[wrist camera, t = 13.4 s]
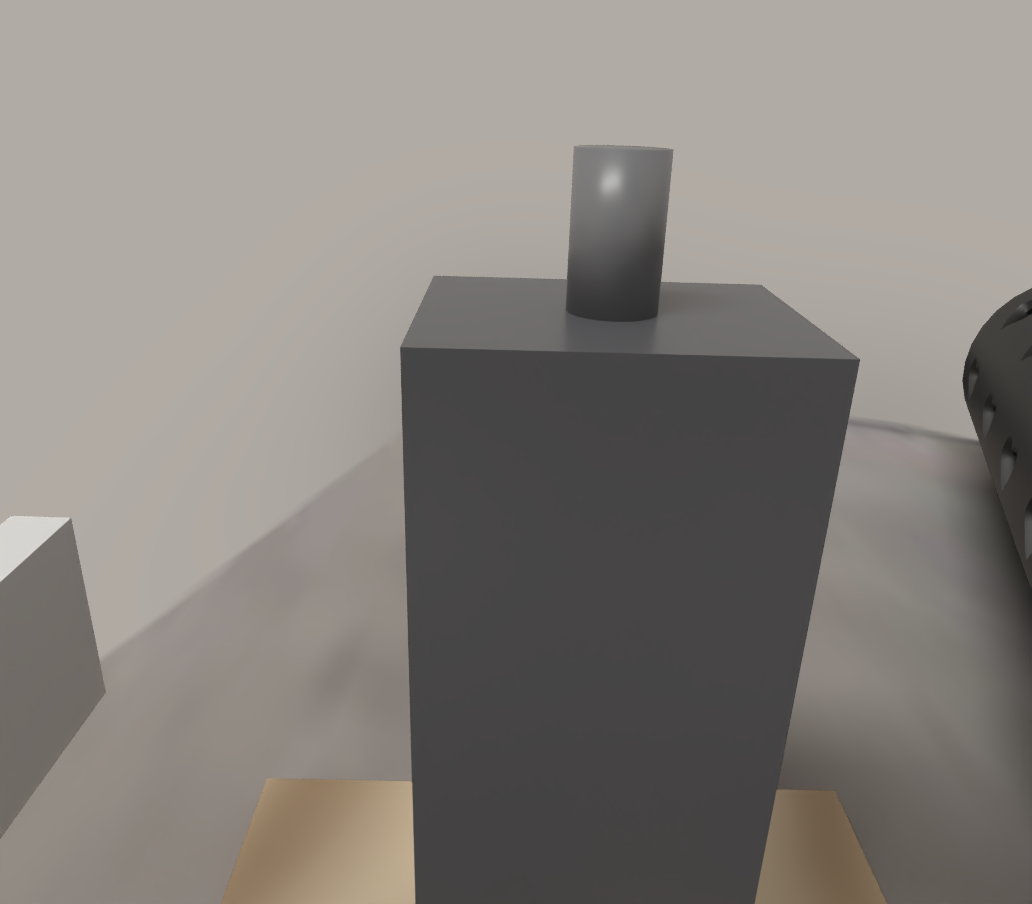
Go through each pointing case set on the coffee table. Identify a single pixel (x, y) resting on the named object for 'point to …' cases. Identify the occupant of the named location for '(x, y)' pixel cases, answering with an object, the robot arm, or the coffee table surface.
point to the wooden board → (390, 848)
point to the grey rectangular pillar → (609, 562)
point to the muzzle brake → (1006, 412)
